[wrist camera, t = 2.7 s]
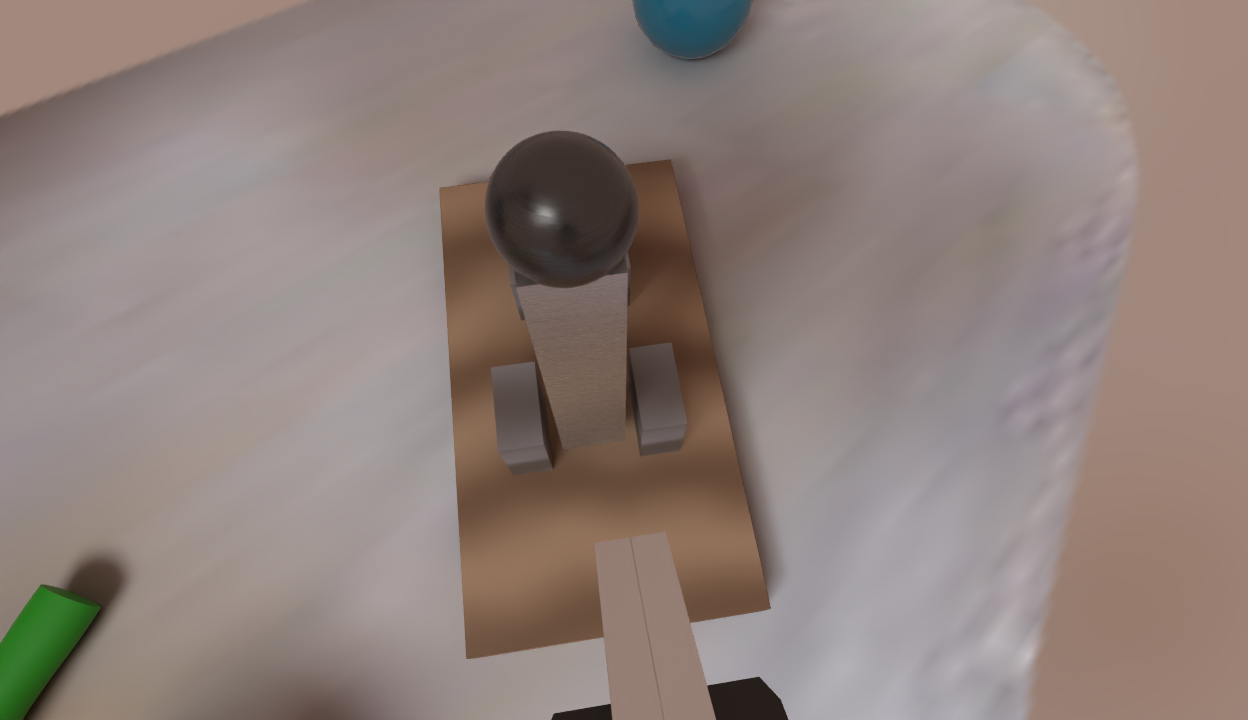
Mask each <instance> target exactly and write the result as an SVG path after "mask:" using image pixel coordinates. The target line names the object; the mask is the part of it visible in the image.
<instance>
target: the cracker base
mask: <svg viewBox="0 0 1248 720" xmlns="http://www.w3.org/2000/svg"><path fill="white" fill-rule="evenodd" d="M625 166H626V168H627V169H628V171H629V173H630V175H631V177H632V179H633V181H634V184H635V188H636V191H637V195H638V203H639V220H638V226H637V231H636V234H635V237H634V240H633V242H632V245H631V247H630V249H629V250H628V252H627V254H626V255H625V260H626V265H627V271H628V293H627V357H626V422H625V441H620V442H613V443H607V444H600V445H593V446H586V447H579V448H573V449H566V450H564V449H563V446H562V443H561V439H560V436H559V432H558V429H557V426H556V422H555V419H554V415H553V412H552V409H551V405H550V402H549V398H548V395H547V392H546V388H545V385H544V381H543V378H542V374H541V371H540V368H539V364H538V361H537V357H536V354H535V351H534V347H533V344H532V340H531V337H530V334H529V330H528V327H527V323H526V320H525V317H524V313H523V310H522V306H521V303H520V300H519V296H518V293H517V289H516V283H515V273H514V270H513V269H512V268H511V267H510V266H509V265H508V264H507V263H506V262H505V261H504V260H503V259H502V257H501V256H500V254H499V253H498V252H497V250H496V248H495V247H494V245H493V243H492V240H491V238H490V236H489V233H488V230H487V225H486V219H485V196H486V191H487V187H488V184H489V182H483V183H475V184H467V185H459V186H450V187H442V188H439V189H440V206H441V224H442V241H443V258H444V276H445V293H446V310H447V328H448V345H449V362H450V380H451V397H452V415H453V432H454V449H455V467H456V484H457V501H458V519H459V536H460V553H461V571H462V588H463V605H464V623H465V640H466V658H467V659H472V658H480V657H486V656H492V655H498V654H505V653H511V652H517V651H523V650H529V649H535V648H541V647H547V646H553V645H559V644H565V643H571V642H577V641H583V640H589V639H595V638H602V637H604V632H603V623H602V613H601V603H600V594H599V584H598V574H597V564H596V555H595V545H594V543H597V542H604V541H610V540H616V539H623V538H629V537H636V536H642V535H648V534H655V533H661V532H666V535H667V539H668V543H669V546H670V550H671V554H672V557H673V561H674V565H675V569H676V572H677V576H678V580H679V583H680V587H681V591H682V595H683V598H684V602H685V606H686V610H687V613H688V617H689V621H690V623H692V622H699V621H705V620H711V619H717V618H723V617H729V616H735V615H741V614H747V613H753V612H759V611H764V610H768V609H771V607H770V602H769V598H768V593H767V589H766V584H765V580H764V575H763V571H762V566H761V562H760V557H759V553H758V549H757V544H756V540H755V535H754V531H753V526H752V522H751V517H750V513H749V508H748V504H747V499H746V495H745V490H744V486H743V481H742V477H741V472H740V468H739V463H738V459H737V454H736V450H735V445H734V441H733V436H732V432H731V428H730V423H729V419H728V414H727V410H726V405H725V401H724V396H723V392H722V387H721V383H720V378H719V374H718V369H717V365H716V360H715V356H714V351H713V347H712V342H711V338H710V333H709V329H708V324H707V320H706V315H705V311H704V307H703V302H702V298H701V293H700V289H699V284H698V280H697V275H696V271H695V266H694V262H693V257H692V253H691V248H690V244H689V239H688V235H687V230H686V226H685V221H684V217H683V212H682V208H681V203H680V199H679V195H678V190H677V186H676V181H675V177H674V172H673V168H672V163H671V160H663V161H655V162H647V163H639V164H631V165H625Z"/></svg>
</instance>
